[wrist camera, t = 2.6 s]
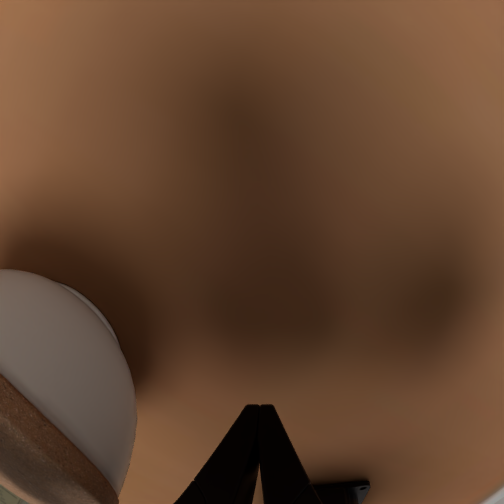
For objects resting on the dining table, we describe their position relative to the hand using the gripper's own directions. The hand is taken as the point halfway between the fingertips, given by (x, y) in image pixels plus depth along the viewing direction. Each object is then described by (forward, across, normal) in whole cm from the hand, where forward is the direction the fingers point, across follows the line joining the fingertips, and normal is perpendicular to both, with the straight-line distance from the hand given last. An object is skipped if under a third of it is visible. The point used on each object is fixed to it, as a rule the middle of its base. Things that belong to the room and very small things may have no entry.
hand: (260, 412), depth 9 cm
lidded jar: (+4, +10, 0) cm, 10 cm away
